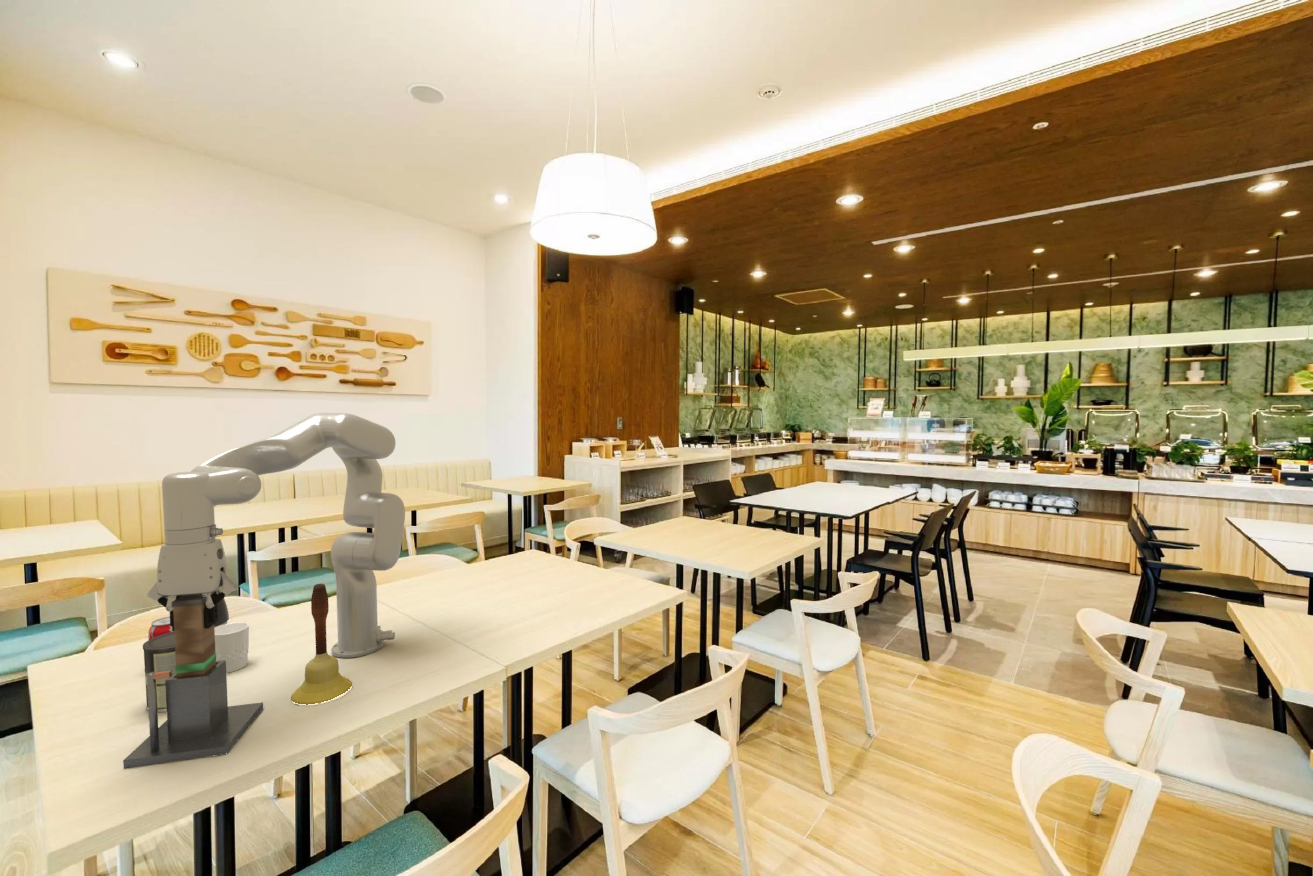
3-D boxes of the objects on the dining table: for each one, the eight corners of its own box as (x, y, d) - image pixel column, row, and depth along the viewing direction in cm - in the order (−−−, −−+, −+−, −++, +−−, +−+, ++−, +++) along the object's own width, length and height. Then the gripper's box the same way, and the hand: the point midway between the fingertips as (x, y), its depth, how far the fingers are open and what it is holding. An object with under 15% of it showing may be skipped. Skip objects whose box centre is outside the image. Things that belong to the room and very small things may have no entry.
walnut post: (218, 683, 112) (214, 591, 111) (205, 695, 107) (201, 599, 106) (190, 686, 111) (185, 593, 110) (176, 698, 106) (171, 602, 105)
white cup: (257, 663, 140) (255, 625, 140) (222, 677, 133) (220, 637, 132) (239, 657, 143) (237, 620, 143) (203, 670, 136) (202, 631, 136)
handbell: (297, 684, 130) (293, 580, 129) (356, 674, 135) (353, 574, 133) (284, 710, 119) (280, 597, 117) (349, 699, 123) (346, 590, 122)
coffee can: (132, 712, 118) (128, 648, 117) (175, 688, 128) (173, 628, 127) (179, 713, 117) (176, 649, 117) (218, 688, 128) (216, 629, 127)
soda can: (165, 675, 134) (162, 627, 133) (142, 672, 135) (139, 624, 135) (194, 662, 141) (192, 616, 140) (172, 659, 142) (170, 613, 142)
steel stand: (263, 709, 119) (260, 636, 118) (226, 754, 104) (223, 671, 103) (175, 719, 115) (171, 645, 114) (123, 768, 100) (119, 682, 99)
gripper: (249, 529, 113) (253, 616, 114) (150, 533, 109) (154, 624, 110) (231, 537, 106) (235, 630, 107) (124, 543, 101) (130, 639, 102)
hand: (194, 626), depth 108 cm, fingers closed on walnut post, 4 cm apart
